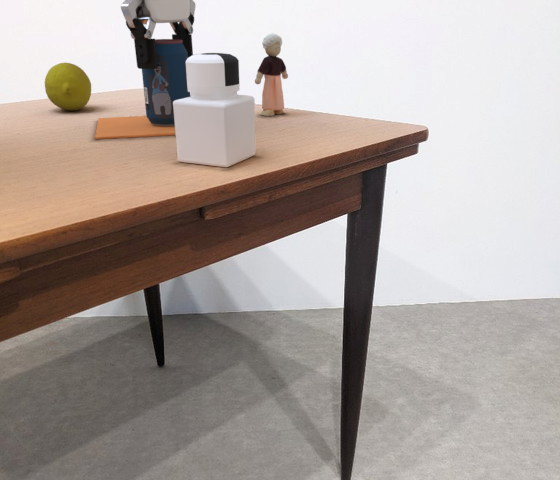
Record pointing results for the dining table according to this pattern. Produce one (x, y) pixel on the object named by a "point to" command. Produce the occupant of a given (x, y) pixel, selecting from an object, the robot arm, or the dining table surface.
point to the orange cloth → (130, 128)
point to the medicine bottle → (214, 113)
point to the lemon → (68, 86)
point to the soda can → (165, 82)
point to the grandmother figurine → (272, 76)
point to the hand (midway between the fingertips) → (166, 65)
